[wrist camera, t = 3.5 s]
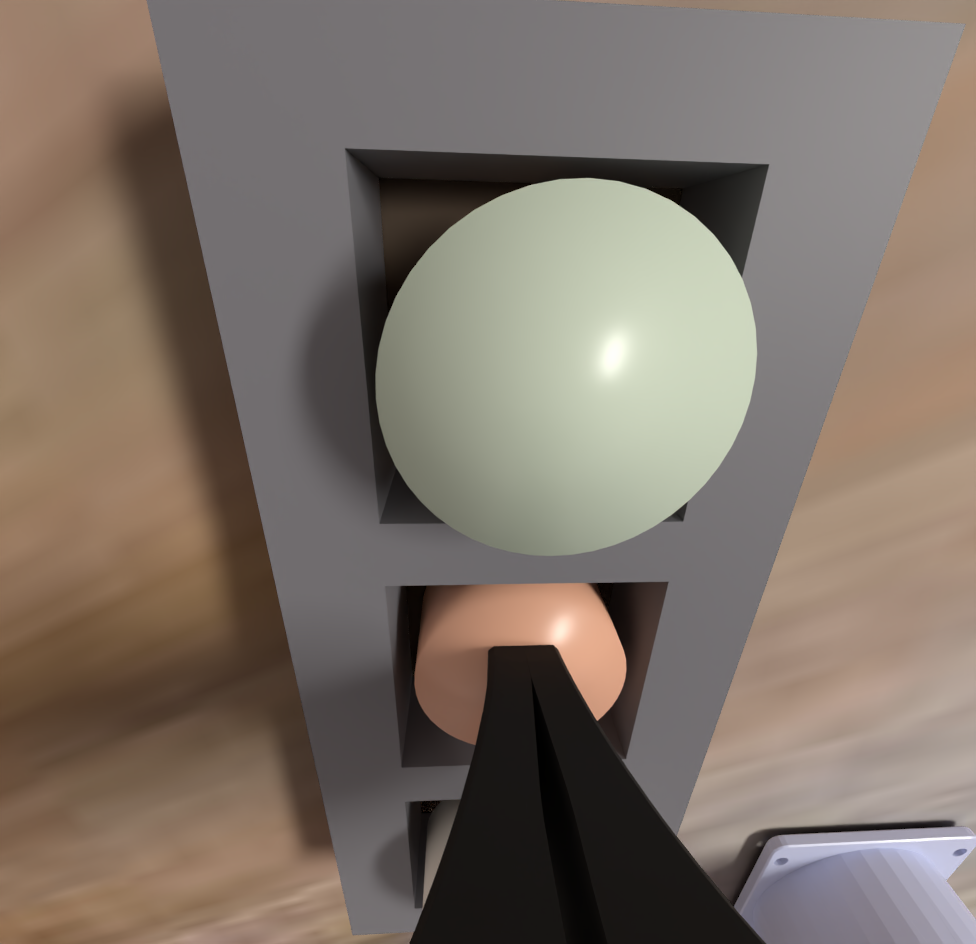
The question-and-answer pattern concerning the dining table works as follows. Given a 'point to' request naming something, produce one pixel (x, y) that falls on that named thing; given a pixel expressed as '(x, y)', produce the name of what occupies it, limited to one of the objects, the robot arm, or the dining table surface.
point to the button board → (363, 312)
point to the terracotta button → (511, 622)
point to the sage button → (566, 367)
